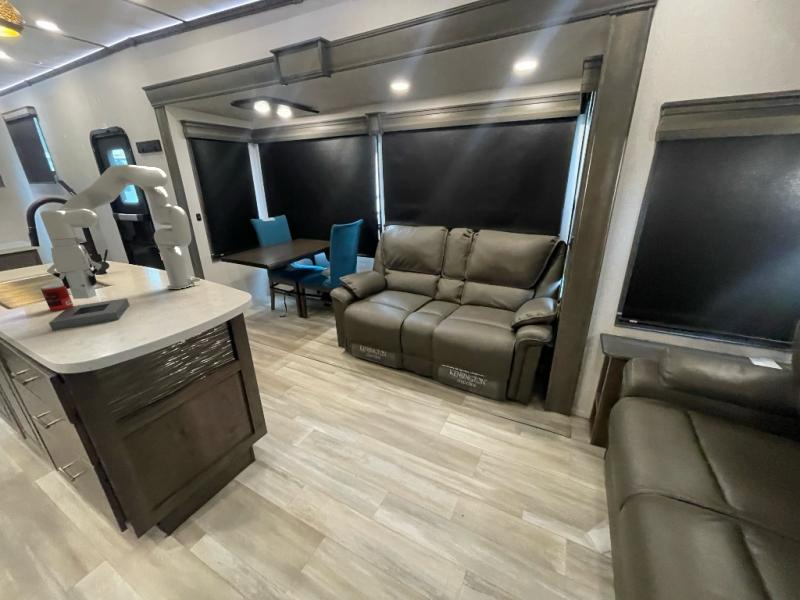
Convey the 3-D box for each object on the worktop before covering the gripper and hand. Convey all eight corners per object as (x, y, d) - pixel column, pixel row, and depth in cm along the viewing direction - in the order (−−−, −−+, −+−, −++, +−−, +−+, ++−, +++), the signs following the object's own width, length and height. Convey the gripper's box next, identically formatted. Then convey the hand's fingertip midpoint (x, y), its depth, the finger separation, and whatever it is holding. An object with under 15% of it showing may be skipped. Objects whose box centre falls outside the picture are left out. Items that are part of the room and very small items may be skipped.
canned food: (72, 304, 151) (63, 282, 147) (75, 307, 146) (65, 284, 142) (49, 308, 145) (39, 286, 141) (51, 312, 140) (40, 289, 136)
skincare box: (73, 299, 128) (61, 270, 124) (81, 295, 132) (71, 267, 128) (89, 298, 129) (79, 269, 125) (98, 295, 133) (88, 267, 129)
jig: (129, 305, 147) (127, 298, 146) (118, 319, 130) (115, 311, 129) (72, 314, 138) (68, 306, 137) (52, 331, 121) (48, 322, 120)
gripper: (97, 239, 130) (111, 281, 136) (39, 243, 122) (56, 287, 128) (91, 241, 124) (106, 285, 130) (29, 246, 116) (48, 292, 122)
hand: (81, 286), depth 129 cm, fingers closed on skincare box, 7 cm apart
